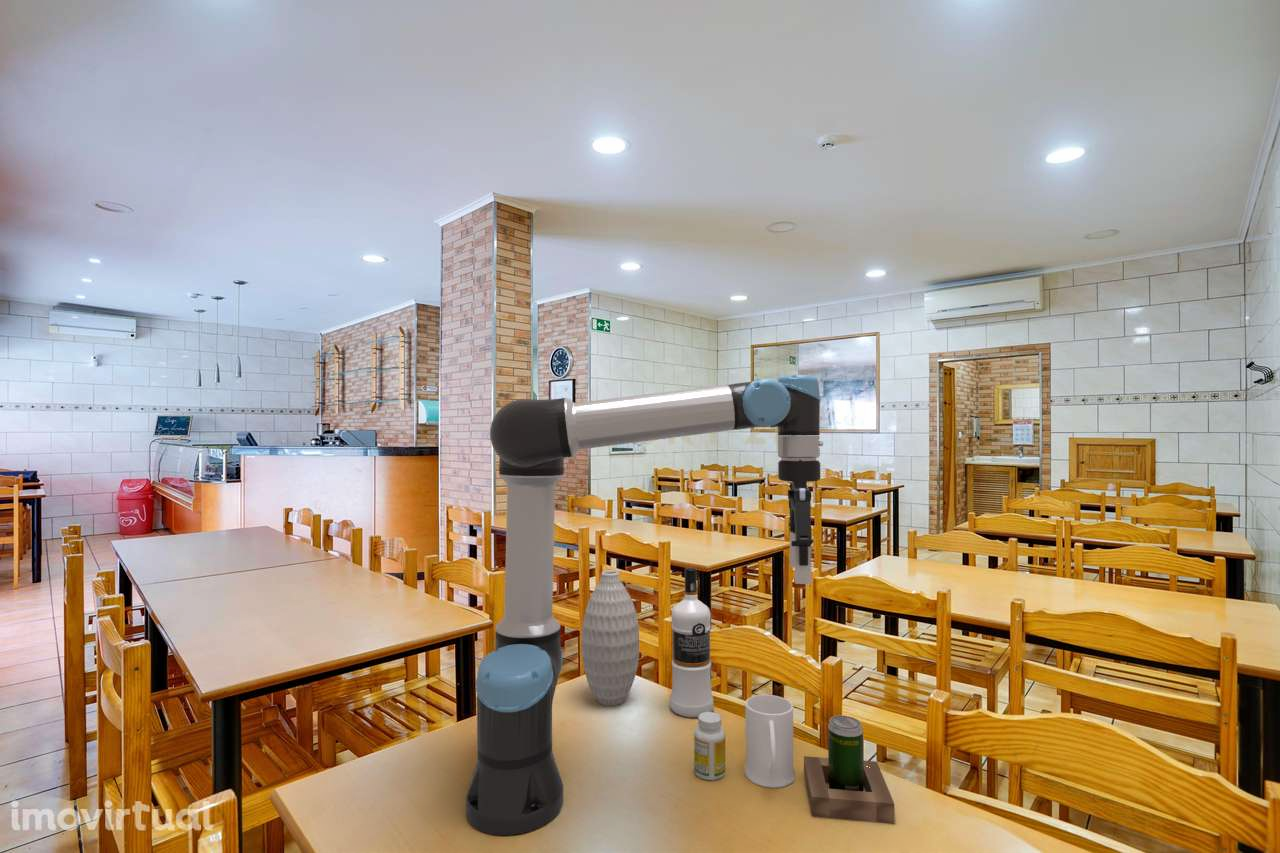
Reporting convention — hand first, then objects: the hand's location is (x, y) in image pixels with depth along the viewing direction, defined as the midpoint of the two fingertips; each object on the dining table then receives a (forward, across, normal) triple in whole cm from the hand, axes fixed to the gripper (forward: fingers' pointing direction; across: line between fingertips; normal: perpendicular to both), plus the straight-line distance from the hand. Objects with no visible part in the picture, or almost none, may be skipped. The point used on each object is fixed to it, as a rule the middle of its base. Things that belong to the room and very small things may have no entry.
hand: (800, 574), depth 113 cm
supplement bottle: (+33, -9, +16) cm, 38 cm away
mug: (+33, -10, +6) cm, 35 cm away
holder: (+32, -13, -6) cm, 35 cm away
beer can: (+33, -13, -6) cm, 36 cm away
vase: (+33, +16, +40) cm, 54 cm away
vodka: (+33, +15, +22) cm, 42 cm away
